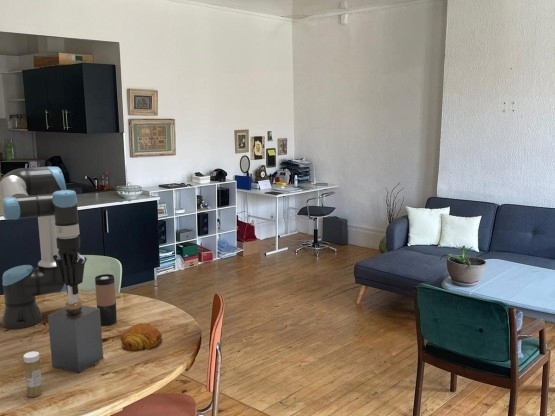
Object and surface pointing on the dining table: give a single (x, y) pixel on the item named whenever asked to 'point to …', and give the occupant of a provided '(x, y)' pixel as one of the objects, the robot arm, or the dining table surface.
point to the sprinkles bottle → (33, 374)
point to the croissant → (140, 337)
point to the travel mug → (106, 299)
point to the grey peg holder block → (75, 338)
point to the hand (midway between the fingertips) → (73, 302)
